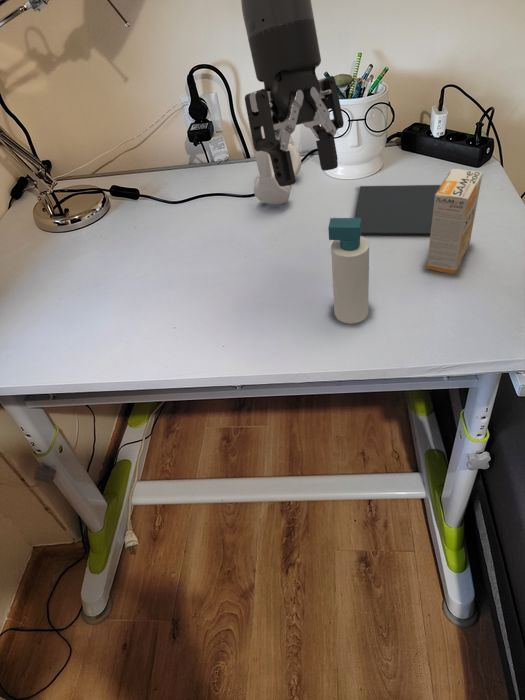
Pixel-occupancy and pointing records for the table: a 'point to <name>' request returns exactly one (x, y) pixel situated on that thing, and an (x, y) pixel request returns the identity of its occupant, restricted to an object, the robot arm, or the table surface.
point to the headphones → (273, 176)
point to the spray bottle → (349, 269)
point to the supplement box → (453, 219)
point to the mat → (396, 210)
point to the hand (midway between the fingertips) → (309, 177)
